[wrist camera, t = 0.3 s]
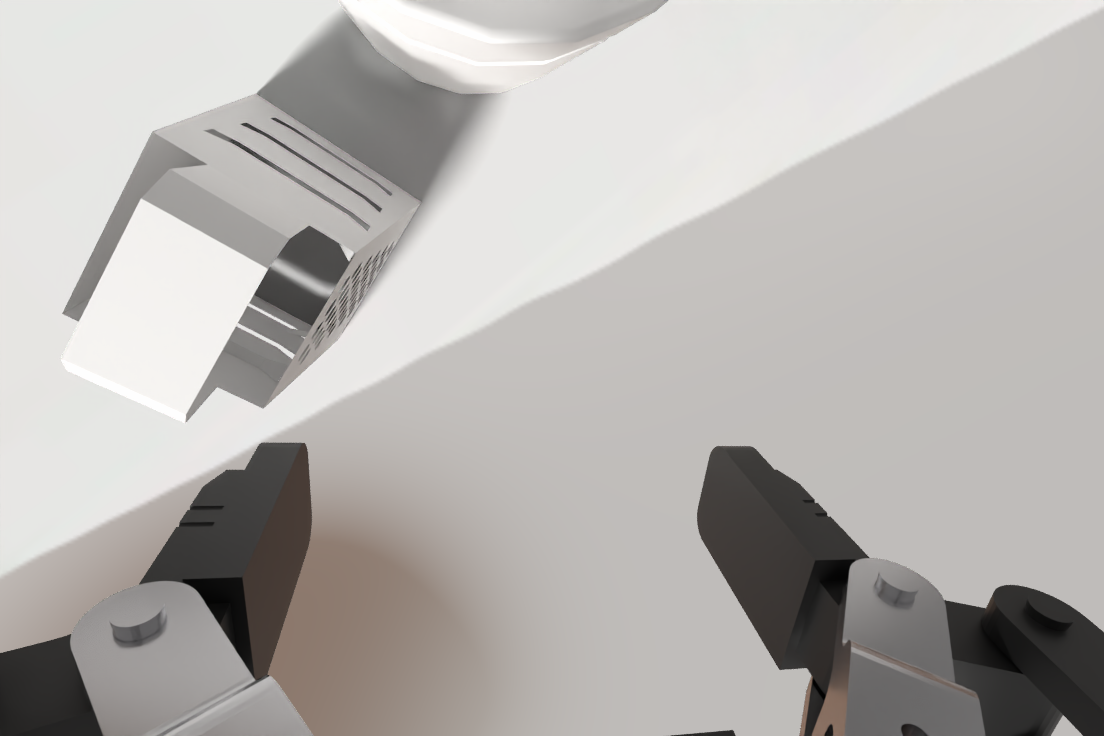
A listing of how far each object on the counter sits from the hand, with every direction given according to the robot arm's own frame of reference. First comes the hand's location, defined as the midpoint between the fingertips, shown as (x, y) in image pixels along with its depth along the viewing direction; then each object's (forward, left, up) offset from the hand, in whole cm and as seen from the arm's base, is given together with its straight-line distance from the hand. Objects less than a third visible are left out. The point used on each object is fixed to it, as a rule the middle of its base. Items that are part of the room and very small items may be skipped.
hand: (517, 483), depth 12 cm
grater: (-1, -9, -29) cm, 31 cm away
